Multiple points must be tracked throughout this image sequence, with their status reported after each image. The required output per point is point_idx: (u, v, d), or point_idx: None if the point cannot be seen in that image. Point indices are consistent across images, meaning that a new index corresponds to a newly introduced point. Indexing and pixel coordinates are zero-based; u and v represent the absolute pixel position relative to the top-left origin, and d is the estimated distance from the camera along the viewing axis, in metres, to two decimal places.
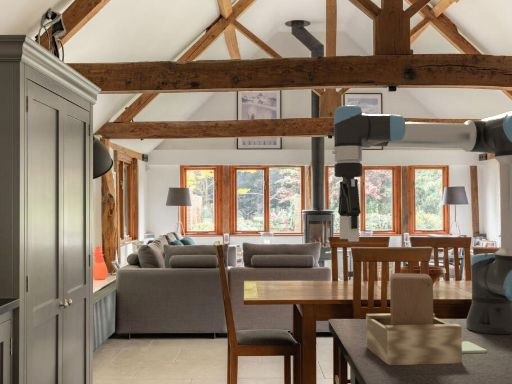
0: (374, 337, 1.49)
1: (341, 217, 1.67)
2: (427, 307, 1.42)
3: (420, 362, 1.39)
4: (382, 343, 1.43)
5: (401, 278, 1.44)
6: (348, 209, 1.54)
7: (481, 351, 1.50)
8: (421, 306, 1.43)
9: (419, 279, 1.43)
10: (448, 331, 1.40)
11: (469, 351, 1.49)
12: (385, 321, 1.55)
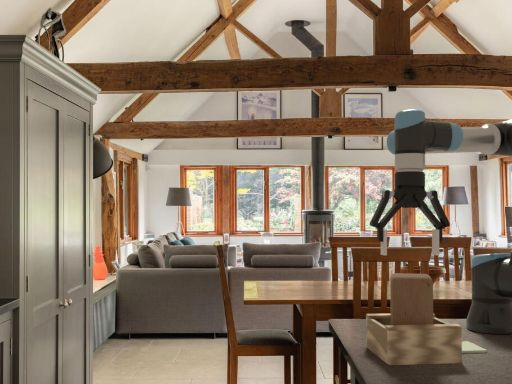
0: (374, 337, 1.49)
1: (432, 230, 1.50)
2: (427, 307, 1.42)
3: (420, 362, 1.39)
4: (382, 343, 1.43)
5: (401, 278, 1.44)
6: None
7: (481, 351, 1.50)
8: (421, 306, 1.43)
9: (419, 279, 1.43)
10: (448, 331, 1.40)
11: (469, 351, 1.49)
12: (385, 321, 1.55)
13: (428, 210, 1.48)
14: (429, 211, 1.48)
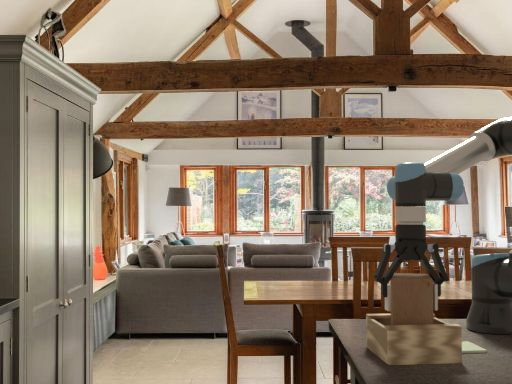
0: (374, 337, 1.49)
1: None
2: (427, 307, 1.42)
3: (420, 362, 1.39)
4: (382, 343, 1.43)
5: (401, 278, 1.44)
6: None
7: (481, 351, 1.50)
8: (421, 306, 1.43)
9: (419, 279, 1.43)
10: (448, 331, 1.40)
11: (469, 351, 1.49)
12: (385, 321, 1.55)
13: (428, 264, 1.48)
14: (429, 265, 1.48)
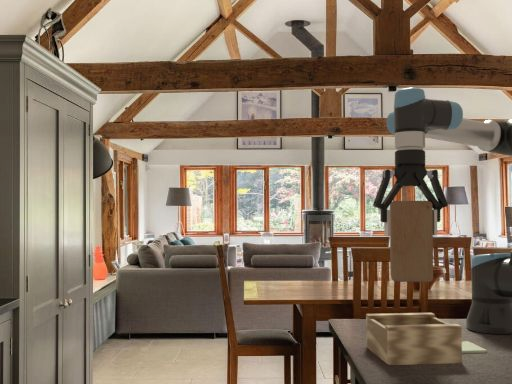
0: (374, 337, 1.49)
1: None
2: (427, 229, 1.43)
3: (420, 362, 1.39)
4: (382, 343, 1.43)
5: (401, 202, 1.45)
6: None
7: (481, 351, 1.50)
8: (420, 229, 1.43)
9: (419, 202, 1.44)
10: (448, 331, 1.40)
11: (469, 351, 1.49)
12: (385, 321, 1.55)
13: (427, 189, 1.48)
14: (428, 190, 1.48)
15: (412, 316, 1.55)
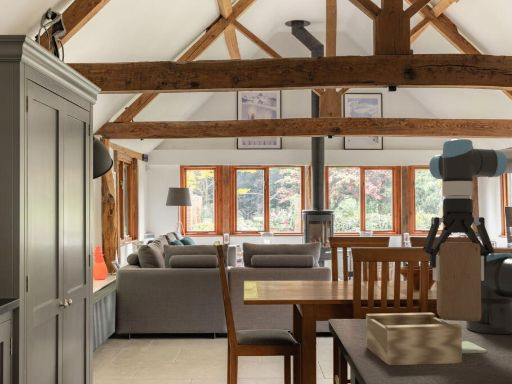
0: (374, 337, 1.49)
1: None
2: (475, 271, 1.50)
3: (420, 362, 1.39)
4: (382, 343, 1.43)
5: (450, 243, 1.52)
6: None
7: (481, 351, 1.50)
8: (469, 270, 1.50)
9: (467, 244, 1.51)
10: (448, 331, 1.40)
11: (469, 351, 1.49)
12: (385, 321, 1.55)
13: (474, 236, 1.54)
14: (475, 237, 1.54)
15: (412, 316, 1.55)
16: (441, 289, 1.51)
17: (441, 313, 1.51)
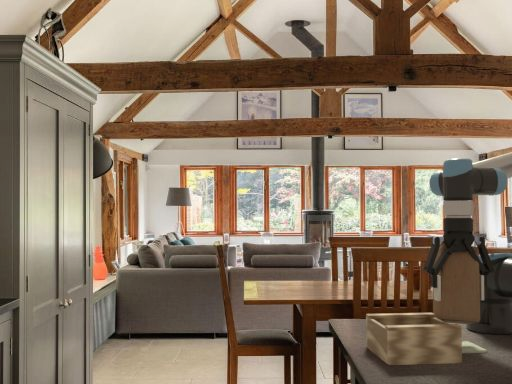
0: (374, 337, 1.49)
1: None
2: (475, 272, 1.53)
3: (420, 362, 1.39)
4: (382, 343, 1.43)
5: None
6: None
7: (481, 351, 1.50)
8: (469, 271, 1.53)
9: None
10: (448, 331, 1.40)
11: (469, 351, 1.49)
12: (385, 321, 1.55)
13: (475, 255, 1.54)
14: (476, 256, 1.54)
15: (412, 316, 1.55)
16: (442, 289, 1.53)
17: (442, 313, 1.52)
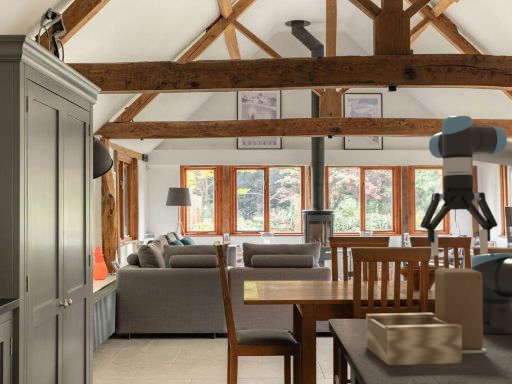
0: (374, 337, 1.49)
1: (480, 230, 1.57)
2: (478, 299, 1.50)
3: (420, 362, 1.39)
4: (382, 343, 1.43)
5: (453, 272, 1.51)
6: None
7: (481, 351, 1.50)
8: (472, 299, 1.50)
9: (470, 273, 1.50)
10: (448, 331, 1.40)
11: (469, 351, 1.49)
12: (385, 321, 1.55)
13: (476, 211, 1.55)
14: (477, 212, 1.55)
15: (412, 316, 1.55)
16: (444, 318, 1.51)
17: None
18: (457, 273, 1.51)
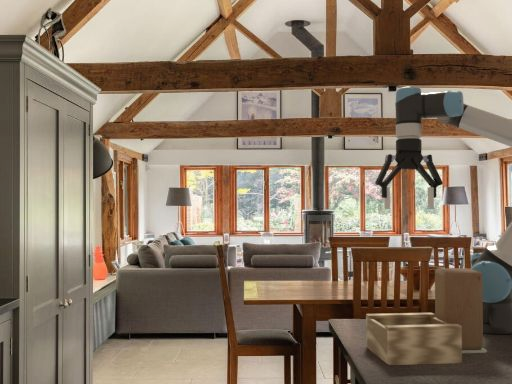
0: (374, 337, 1.49)
1: (428, 188, 1.78)
2: (478, 299, 1.50)
3: (420, 362, 1.39)
4: (382, 343, 1.43)
5: (453, 272, 1.51)
6: None
7: (481, 351, 1.50)
8: (472, 299, 1.50)
9: (470, 273, 1.50)
10: (448, 331, 1.40)
11: (469, 351, 1.49)
12: (385, 321, 1.55)
13: (424, 171, 1.76)
14: (425, 172, 1.76)
15: (412, 316, 1.55)
16: (444, 318, 1.51)
17: None
18: (457, 273, 1.51)
